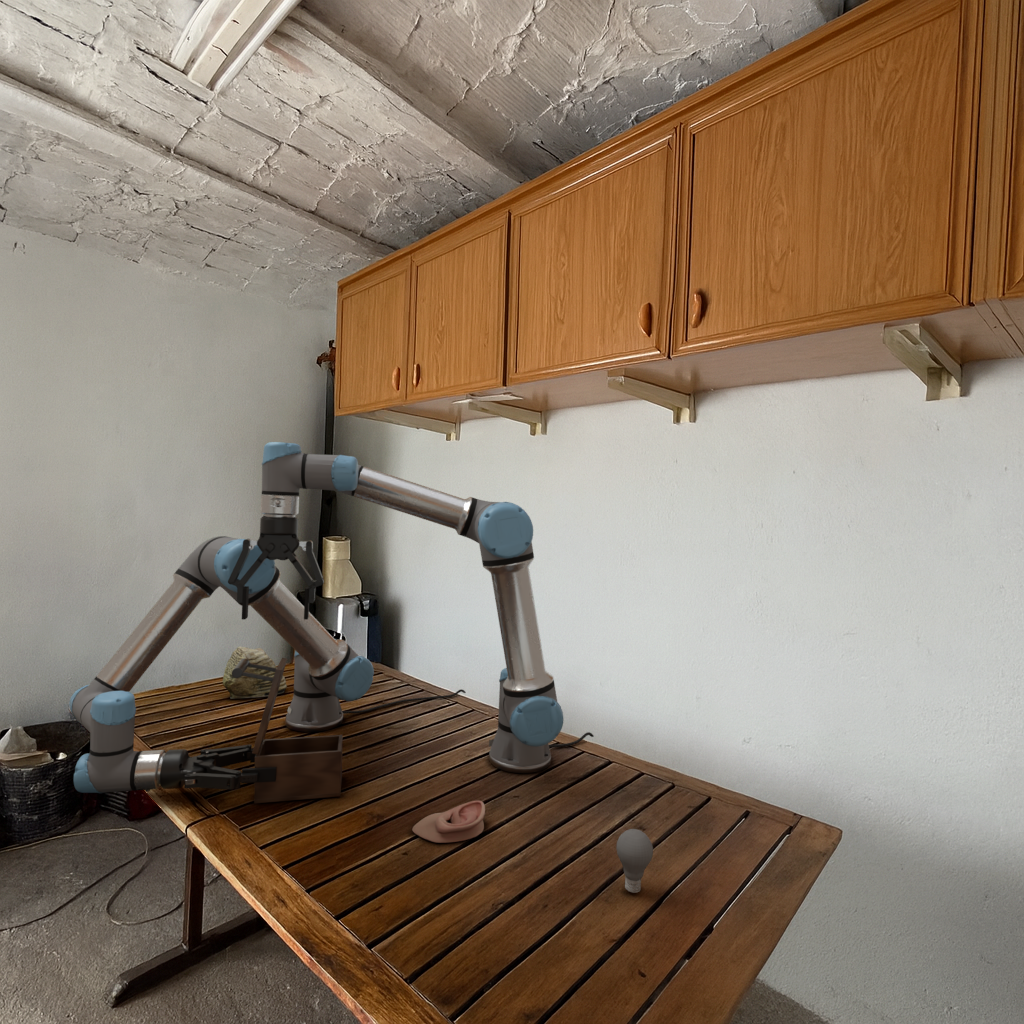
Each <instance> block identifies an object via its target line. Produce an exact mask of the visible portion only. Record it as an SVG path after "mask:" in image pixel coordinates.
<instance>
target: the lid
mask: <svg viewBox="0 0 1024 1024" xmlns="http://www.w3.org/2000/svg"><path fill="white" fill-rule="evenodd" d="M287 661H288V658H286V657H281V659H280V661H279V663H278V665H277V666H276V668H272V667H268V666H263V665H258V664H253V663H250V662H249V660H248V659H246V658H243V659H241V660H240V662H239V663H238V664H237V666H236V667H235V668H234V669H233V671H232V676H233V677H234V678H240V677H241V676H246V677H251V678H256V679H261V680H266V681H271V682H272V685H271V689H270V692H269V696H267V699H266V702H265V707H264V710H263V714H262V717H261V721H260V722H259V723H260V725H259V727H258V731H257V734H256V738H255V741H254V745H253V748H252V749H253V751H252V754H258V752H259V750H260V748H261V745H262V743H263V740H265V738H266V735H267V731H268V727H269V724H270V720H271V717H272V715H273V714H272V713H273V710H274V707H275V704H276V699H277V696H278V694H277V693H278V690H279V686H280V683H281V679H282V676H284V672H285V669H286V665H287ZM247 667H253V668H258V669H262V670H267V671H272V672H275V675H274V678H273V677H268V676H263V675H258V674H253V673H248V672H245V670H246V669H247Z"/></svg>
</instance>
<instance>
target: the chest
mask: <svg viewBox="0 0 1024 1024" xmlns="http://www.w3.org/2000/svg"><path fill="white" fill-rule="evenodd" d="M343 741H344V739H343V734H329V735H317V736H315V735H314V736H299V737H297V736H296V737H283V738H281V737H280V738H266V739H265V738H264V740H263V743H262V745H261V748H260V750H259V752H258V754H256V756H255V763H254V768H266V767H276V781H275V782H257V783H253V784H254V785H253V786H254V788H253V790H254V795H253V800H254V801H253V803H254V804H263V803H265V804H266V803H276V802H287V801H299V800H301V801H302V800H312V799H313V800H314V799H325V798H335V797H336V798H337V797H341V795H342V782H343Z"/></svg>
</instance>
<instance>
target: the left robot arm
mask: <svg viewBox="0 0 1024 1024" xmlns="http://www.w3.org/2000/svg"><path fill="white" fill-rule="evenodd" d="M245 539H246V538H238V537H232V536H226V535H225V536H224V535H220V536H213V537H211V538H209V539H206V540H205V541H203V542H202V543H200V544H199V545H198V546H197V547H195V549H194V550H193V551H192V552H191V553H190V554H189V555H188V556H187V557H186V558H185V560H184V561H183V562H182V563H181V565H180V566H179V567H178V568H177V570H175V572H174V573H173V574H172V576H173V581H172V582H171V584H170V585H169V586H168V587H167V589H166V590H165V591H164V593H162V595H161V596H160V597H159V599H158V600H157V601H156V602H155V604H154V605H153V606H152V607H151V609H150V610H149V611H148V612H147V613H146V615H145V616H144V617H143V618H142V619H141V621H140V622H139V623H138V625H137V626H136V627H134V629H133V630H132V632H131V633H130V634H129V636H128V637H127V638H126V639H125V640H124V642H123V643H122V644H121V645H120V647H118V649H117V650H116V651H115V653H114V654H113V655H112V656H111V658H110V659H109V660H108V661H107V662H106V664H105V665H104V666H103V668H102V669H101V670H100V671H99V672H98V674H97V675H96V676H95V677H94V678H93V679H92V681H91V682H90V683H89V684H86V685H84V686H81V687H80V688H78V689H76V690H75V692H73V694H72V695H71V697H70V699H69V701H68V702H69V703H68V708H69V711H70V713H71V715H72V716H73V719H75V721H77V722H78V723H79V724H81V726H83V727H84V728H85V729H86V730H87V731H88V732H89V734H90V735H89V736H90V738H89V739H90V742H89V743H90V746H89V753H88V752H87V753H84V754H83V755H81V756H80V757H79V759H78V760H77V762H76V765H75V767H74V773H73V785H74V786H73V787H74V788H75V790H76V791H77V792H78V793H82V794H105V793H117V792H118V793H119V792H131V791H135V792H136V791H145V792H146V793H147V792H148V793H149V792H150V791H151V790H152V791H153V790H160V788H161V789H163V790H175V789H177V790H178V789H181V788H182V787H183V788H184V789H197V788H199V789H215V790H234V789H235V790H238V789H241V785H242V784H254V783H257V782H275V781H276V767H266V768H255V767H249V768H248V767H247V768H242V769H241V770H237V769H231V768H226V767H228V766H232V765H237V764H241V763H245V762H249V761H250V763H252V764H253V763H254V764H255V756H256V754H252V751H253V748H252V746H253V745H252V744H243V745H237V746H236V745H235V746H228V747H220V748H209V749H206V748H205V749H201V750H200V754H198V755H194V756H190V755H189V751H188V750H187V749H185V748H182V749H179V748H178V749H168V750H167V751H166V750H165V749H154V750H153V749H152V750H134V747H135V746H134V745H135V743H134V742H135V724H136V723H135V722H136V712H137V707H136V698H135V695H134V693H132V692H130V691H132V689H133V688H134V687H135V685H136V684H137V683H138V682H139V680H141V678H142V676H144V674H145V673H146V672H147V670H148V669H149V668H150V666H151V665H152V664H153V663H154V661H155V660H156V658H157V657H158V656H159V655H160V654H161V652H162V651H163V650H164V649H165V648H166V646H167V644H169V642H170V641H171V640H172V638H173V637H174V636H175V634H176V633H177V632H178V631H179V630H180V628H181V627H182V626H183V624H184V623H185V622H186V621H187V619H188V618H189V617H190V616H191V614H192V613H193V612H194V610H195V609H196V608H197V607H198V605H199V604H200V603H201V602H202V600H205V599H208V598H210V597H211V596H212V595H213V593H214V592H216V590H217V589H218V588H221V589H222V590H224V591H225V592H226V593H227V594H228V595H229V596H230V597H231V598H232V599H233V600H234V601H235V602H236V603H237V604H238V605H239V606H241V607H242V603H238V602H237V587H236V586H234V585H232V584H229V583H228V580H229V578H230V575H231V573H232V571H233V569H234V567H235V565H236V563H237V561H238V558H239V556H240V554H241V552H242V549H243V541H244V540H245ZM261 554H262V551H261V550H260V549H259V547H258V546H257V545H255V547H254V549H252V550H250V553H249V555H248V557H247V559H246V561H245V563H244V566H243V568H242V570H241V572H240V574H239V576H238V578H237V579H239V580H241V578H242V577H243V576H244V575H245V574H246V572H247V571H248V570H249V569H250V567H251V566H252V565H253V564H254V563H255V561H256V560H257V559H258V557H259V556H260V555H261ZM280 579H281V571H280V569H279V568H278V567H277V566H276V562H275V560H269V559H267V558H266V560H265V561H264V562H263V563H262V564H261V566H260V567H259V568H258V569H257V571H256V572H255V573H254V574H253V575H252V577H251V578H250V579H249V580H248V582H247V583H246V584H245V586H249V599H248V607H249V606H250V607H251V608H252V609H253V610H254V611H255V612H256V613H257V614H258V615H259V616H260V617H261V618H262V619H263V620H264V621H265V622H266V623H267V624H268V625H269V626H270V627H271V628H272V629H273V630H274V631H275V632H276V634H278V635H279V636H280V637H281V638H282V639H283V640H284V641H285V642H286V643H287V644H288V645H289V646H290V647H291V648H292V649H293V650H294V655H293V657H294V672H293V673H294V674H293V695H292V696H293V697H292V699H291V702H290V704H289V706H288V708H287V710H286V711H287V713H286V715H285V726H286V728H287V729H289V730H291V731H294V732H295V731H296V732H301V733H316V732H325V731H329V730H332V729H335V728H337V727H339V726H340V725H342V723H343V722H344V715H345V714H362V713H363V714H364V713H367V712H371V711H374V710H377V709H381V708H385V707H389V706H392V705H397V704H400V703H401V704H402V703H407V702H417V701H427V700H436V699H446V698H452V697H455V696H457V695H458V694H460V693H463V694H466V691H465V690H464V689H458V690H457V691H455V693H452V694H447V695H435V696H424V697H413V698H406V699H400V700H396V701H392V702H388V703H383V704H380V705H377V706H373V707H370V708H366V709H361V710H360V709H359V710H343V709H342V706H341V702H340V701H345V702H353V701H354V702H355V701H357V700H359V699H361V698H362V697H363V696H365V695H366V693H367V692H368V691H369V690H370V688H371V686H372V684H373V681H374V675H375V670H374V665H373V664H372V662H371V661H370V659H368V658H367V657H365V656H363V655H359V654H358V653H357V652H356V651H355V650H353V648H352V647H351V646H350V645H349V644H348V643H347V641H345V640H344V639H340V638H339V639H337V638H334V637H333V636H332V635H331V634H330V633H329V631H328V630H327V629H326V628H325V627H324V626H323V625H322V624H321V623H320V621H318V619H317V618H315V616H314V615H313V614H312V613H311V612H310V611H309V617H308V619H304V605H303V604H302V603H301V601H299V599H298V598H297V597H296V596H295V595H294V594H293V593H292V592H291V591H290V589H289V588H288V587H287V586H286V585H284V583H283V582H282V581H281V580H280Z"/></svg>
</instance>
